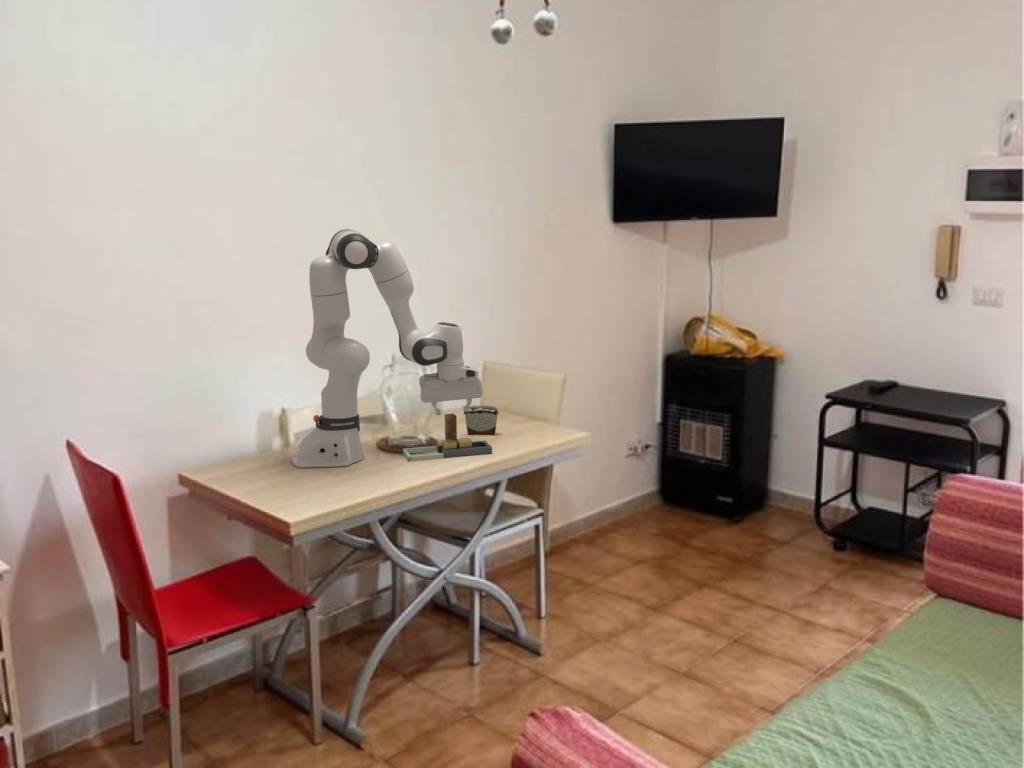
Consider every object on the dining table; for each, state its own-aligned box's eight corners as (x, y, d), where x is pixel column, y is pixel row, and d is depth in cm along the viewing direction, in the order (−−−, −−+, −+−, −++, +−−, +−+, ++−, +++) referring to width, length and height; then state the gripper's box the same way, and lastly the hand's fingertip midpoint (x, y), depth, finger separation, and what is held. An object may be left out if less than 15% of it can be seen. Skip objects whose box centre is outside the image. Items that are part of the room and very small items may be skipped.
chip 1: (444, 455, 294) (444, 443, 293) (441, 452, 298) (441, 440, 297) (456, 454, 295) (456, 442, 294) (453, 451, 299) (453, 439, 298)
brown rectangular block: (448, 449, 304) (447, 416, 302) (445, 446, 308) (444, 414, 306) (457, 448, 305) (456, 416, 303) (454, 445, 309) (453, 413, 307)
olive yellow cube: (459, 454, 295) (459, 441, 294) (456, 450, 299) (456, 438, 298) (472, 453, 296) (471, 440, 296) (468, 449, 300) (468, 437, 299)
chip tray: (408, 464, 288) (408, 456, 287) (402, 455, 297) (402, 448, 297) (443, 461, 291) (443, 453, 290) (436, 453, 300) (436, 445, 300)
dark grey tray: (443, 461, 291) (443, 452, 290) (436, 453, 300) (436, 444, 300) (492, 456, 296) (492, 447, 295) (484, 448, 305) (484, 440, 304)
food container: (501, 433, 324) (500, 405, 322) (499, 438, 318) (499, 409, 316) (466, 433, 326) (465, 405, 324) (463, 437, 320) (463, 409, 318)
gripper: (420, 376, 296) (422, 418, 299) (483, 371, 301) (484, 412, 304) (417, 372, 302) (419, 414, 305) (478, 367, 307) (479, 408, 310)
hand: (452, 413), depth 305 cm, fingers open, 8 cm apart
